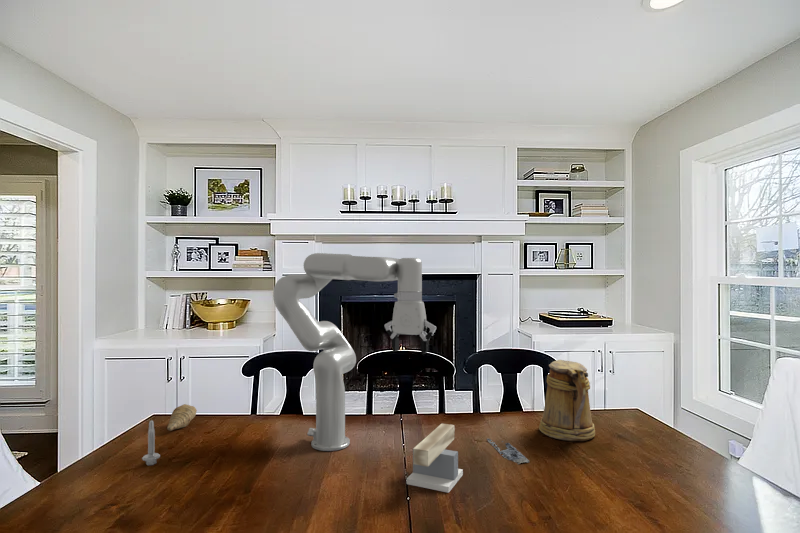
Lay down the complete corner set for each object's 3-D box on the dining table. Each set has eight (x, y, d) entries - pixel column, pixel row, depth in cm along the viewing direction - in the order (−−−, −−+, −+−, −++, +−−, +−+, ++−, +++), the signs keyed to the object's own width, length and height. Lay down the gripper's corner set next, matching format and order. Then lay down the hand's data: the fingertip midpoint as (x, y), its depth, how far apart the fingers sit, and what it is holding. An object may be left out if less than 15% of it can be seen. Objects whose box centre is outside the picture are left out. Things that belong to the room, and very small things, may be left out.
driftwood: (531, 465, 142) (531, 458, 142) (510, 467, 141) (510, 460, 141) (505, 442, 162) (505, 436, 162) (486, 443, 161) (486, 437, 161)
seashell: (183, 435, 167) (183, 412, 167) (159, 435, 167) (159, 412, 167) (198, 422, 181) (198, 401, 181) (176, 423, 181) (176, 402, 181)
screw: (156, 459, 146) (162, 463, 142) (139, 463, 142) (145, 468, 139) (156, 416, 146) (162, 420, 143) (139, 420, 142) (145, 423, 139)
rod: (413, 464, 122) (413, 448, 122) (441, 436, 142) (441, 423, 142) (428, 466, 120) (428, 450, 120) (454, 438, 140) (454, 425, 140)
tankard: (577, 423, 179) (577, 357, 179) (613, 446, 156) (612, 370, 156) (531, 425, 177) (531, 358, 177) (560, 449, 154) (560, 371, 154)
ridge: (406, 484, 128) (406, 454, 128) (423, 467, 139) (423, 440, 139) (448, 492, 123) (448, 461, 123) (462, 474, 134) (462, 446, 134)
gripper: (379, 297, 148) (379, 352, 148) (431, 298, 141) (431, 356, 141) (390, 296, 155) (390, 348, 155) (440, 297, 148) (440, 352, 148)
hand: (409, 352), depth 148 cm, fingers open, 9 cm apart
